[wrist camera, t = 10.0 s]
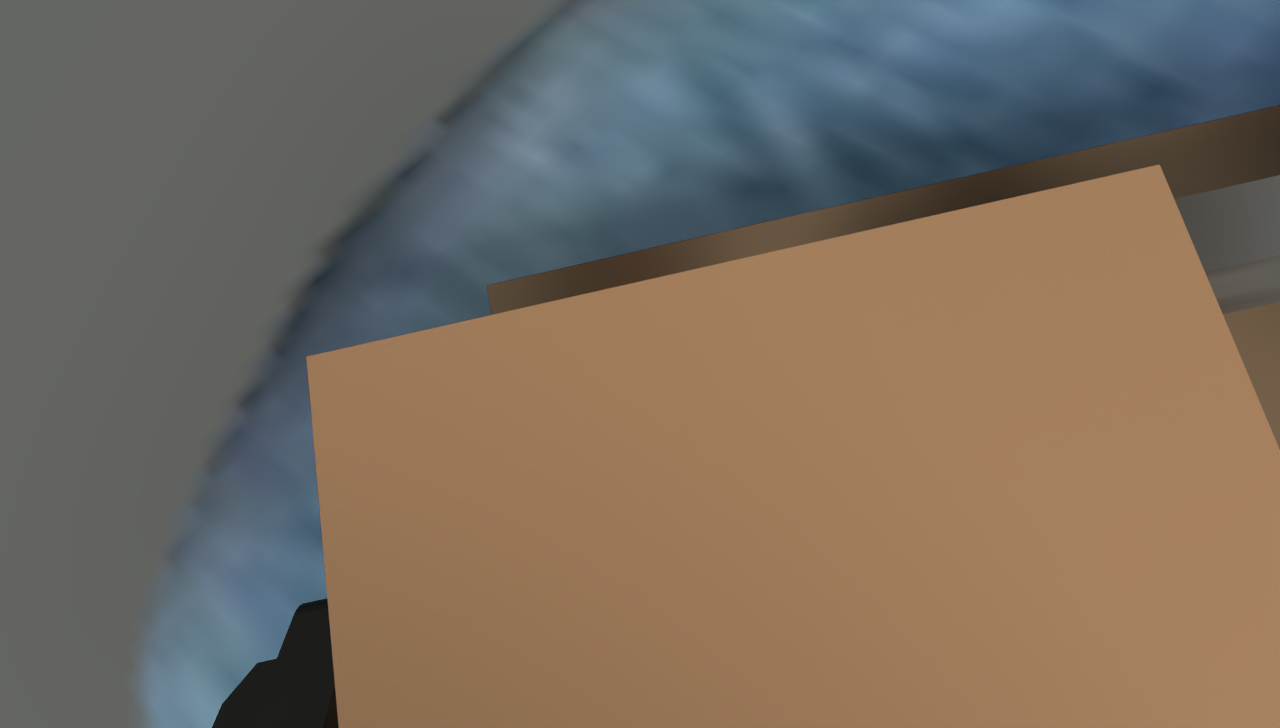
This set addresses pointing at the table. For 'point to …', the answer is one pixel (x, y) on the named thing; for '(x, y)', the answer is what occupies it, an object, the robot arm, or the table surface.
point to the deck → (1189, 157)
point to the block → (819, 491)
